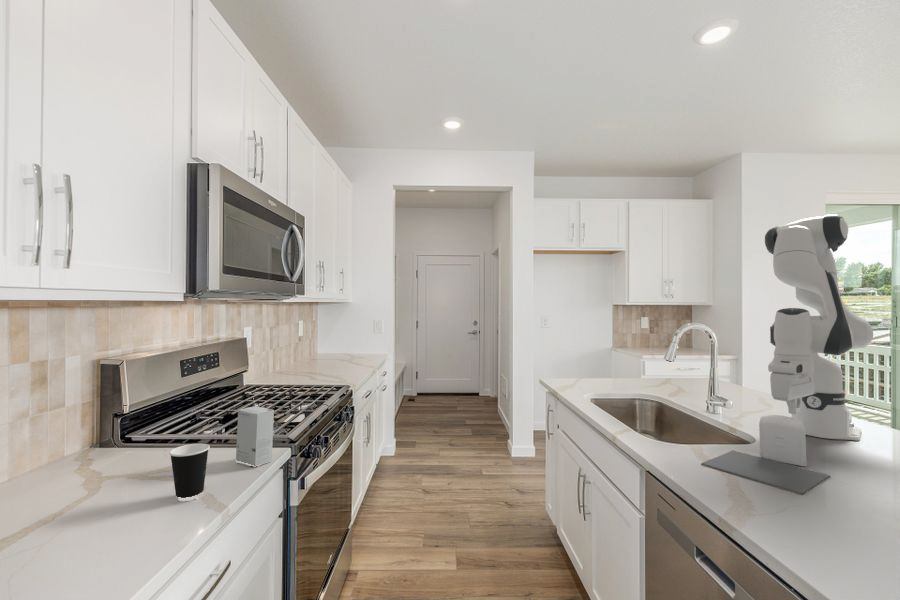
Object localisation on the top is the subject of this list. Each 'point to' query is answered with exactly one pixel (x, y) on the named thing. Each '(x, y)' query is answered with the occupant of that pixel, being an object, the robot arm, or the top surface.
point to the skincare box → (254, 435)
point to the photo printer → (782, 439)
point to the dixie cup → (189, 469)
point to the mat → (767, 471)
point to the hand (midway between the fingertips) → (794, 413)
